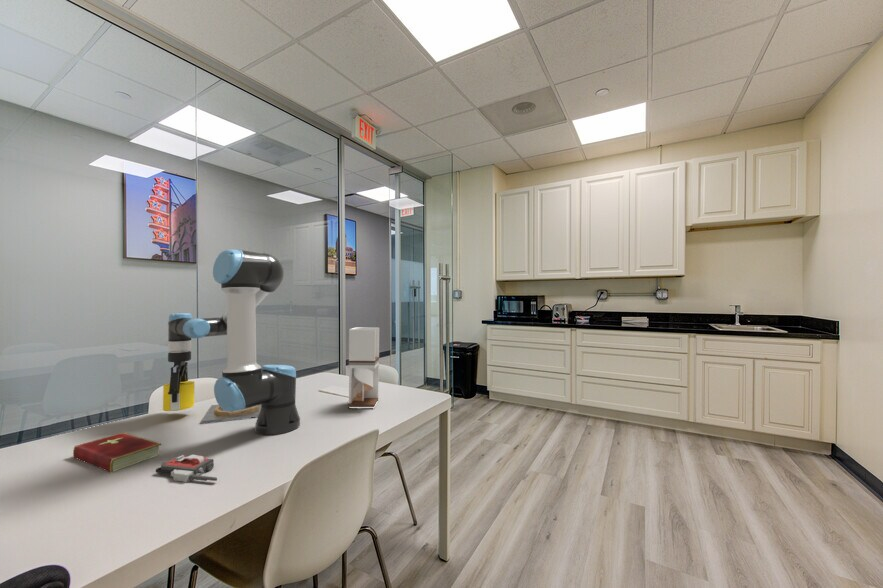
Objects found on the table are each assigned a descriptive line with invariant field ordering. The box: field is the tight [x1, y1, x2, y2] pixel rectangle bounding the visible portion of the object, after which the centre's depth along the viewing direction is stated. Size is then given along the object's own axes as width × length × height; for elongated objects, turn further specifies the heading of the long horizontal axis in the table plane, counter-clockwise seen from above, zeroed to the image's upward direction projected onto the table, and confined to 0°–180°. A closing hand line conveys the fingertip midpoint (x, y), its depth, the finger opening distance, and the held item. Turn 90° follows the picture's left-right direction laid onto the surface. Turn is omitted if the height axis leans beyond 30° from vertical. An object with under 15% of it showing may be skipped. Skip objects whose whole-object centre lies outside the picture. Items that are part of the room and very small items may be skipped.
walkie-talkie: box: [155, 454, 218, 483], centre depth 95 cm, size 9×4×20 cm
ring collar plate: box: [200, 404, 261, 425], centre depth 146 cm, size 22×22×2 cm
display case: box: [347, 327, 380, 408], centre depth 158 cm, size 11×11×35 cm
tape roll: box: [162, 380, 195, 412], centre depth 140 cm, size 10×10×9 cm
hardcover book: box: [72, 432, 162, 473], centre depth 104 cm, size 12×21×4 cm, turn 66°
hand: (178, 406), depth 140 cm, fingers closed on tape roll, 10 cm apart
